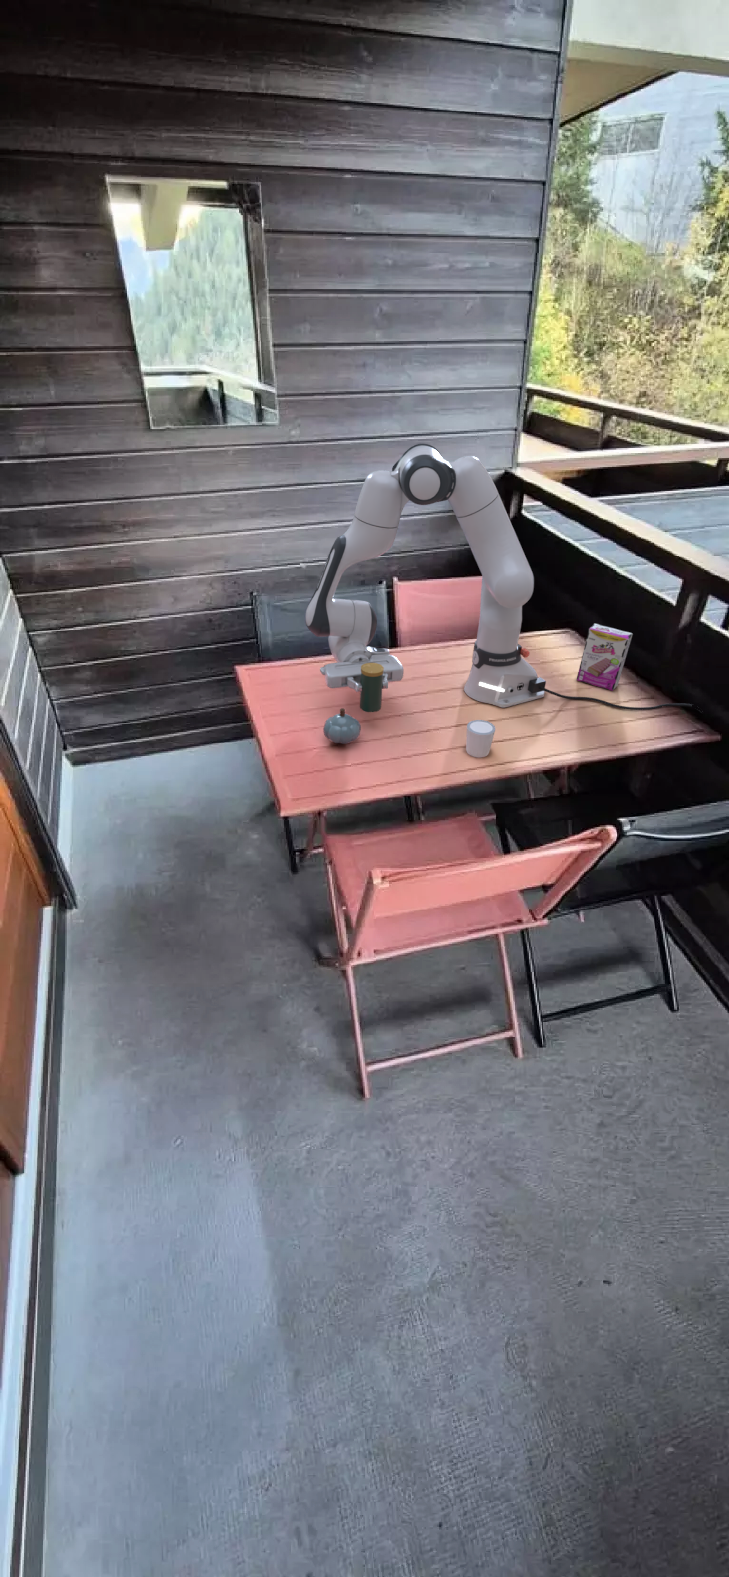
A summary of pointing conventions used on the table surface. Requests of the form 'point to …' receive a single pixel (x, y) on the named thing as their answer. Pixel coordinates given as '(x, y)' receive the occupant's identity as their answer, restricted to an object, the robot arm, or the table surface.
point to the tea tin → (371, 687)
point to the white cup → (479, 738)
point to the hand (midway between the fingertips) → (372, 687)
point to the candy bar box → (604, 656)
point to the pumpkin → (342, 728)
